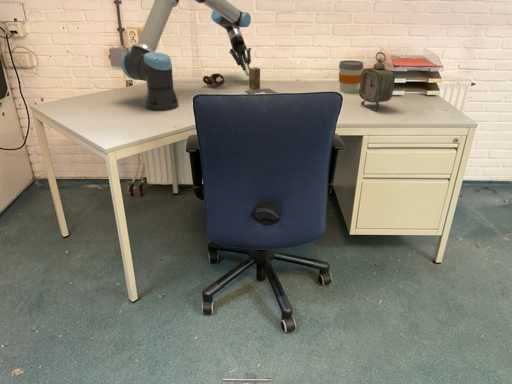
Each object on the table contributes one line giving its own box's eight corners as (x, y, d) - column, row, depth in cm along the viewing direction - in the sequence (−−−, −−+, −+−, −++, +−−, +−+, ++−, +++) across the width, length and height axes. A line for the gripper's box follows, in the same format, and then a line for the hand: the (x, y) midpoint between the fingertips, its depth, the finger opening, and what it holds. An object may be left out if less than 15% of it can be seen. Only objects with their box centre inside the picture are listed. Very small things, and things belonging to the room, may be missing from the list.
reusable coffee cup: (335, 93, 214) (338, 64, 207) (337, 87, 225) (340, 59, 218) (359, 94, 211) (363, 65, 204) (360, 89, 222) (363, 61, 215)
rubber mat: (253, 96, 207) (253, 95, 206) (245, 91, 215) (245, 90, 215) (277, 93, 212) (277, 92, 212) (268, 89, 221) (268, 88, 220)
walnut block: (252, 90, 218) (252, 69, 213) (249, 88, 222) (249, 67, 216) (259, 89, 220) (260, 68, 214) (256, 87, 223) (256, 67, 218)
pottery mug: (223, 85, 230) (226, 74, 223) (221, 96, 224) (224, 85, 218) (202, 80, 228) (205, 68, 221) (200, 91, 222) (202, 79, 216)
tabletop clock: (357, 104, 195) (364, 50, 183) (372, 102, 198) (380, 49, 186) (374, 112, 183) (383, 55, 171) (391, 110, 186) (401, 54, 174)
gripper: (245, 43, 236) (256, 77, 231) (224, 44, 231) (235, 79, 226) (248, 34, 229) (260, 69, 224) (227, 35, 224) (239, 71, 219)
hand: (248, 74), depth 225 cm, fingers closed
